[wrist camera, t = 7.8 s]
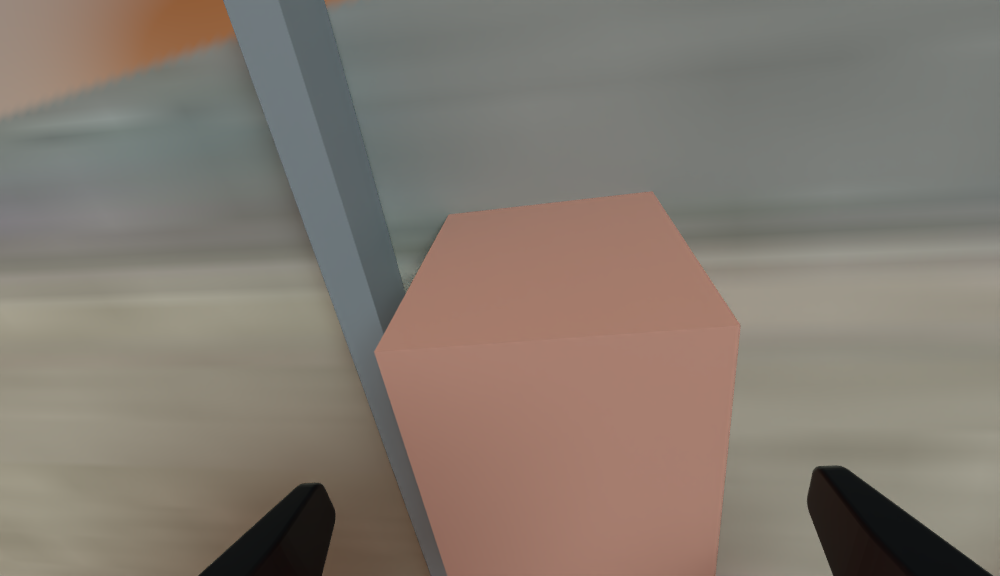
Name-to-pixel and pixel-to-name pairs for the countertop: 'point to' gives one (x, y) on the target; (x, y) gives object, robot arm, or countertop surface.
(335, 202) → the price rail
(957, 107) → the countertop surface
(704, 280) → the salmon pink block
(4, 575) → the countertop surface
